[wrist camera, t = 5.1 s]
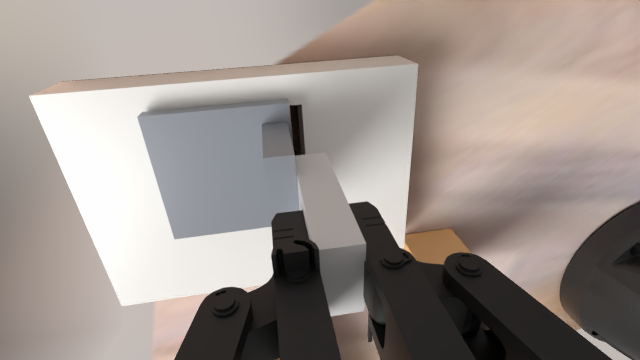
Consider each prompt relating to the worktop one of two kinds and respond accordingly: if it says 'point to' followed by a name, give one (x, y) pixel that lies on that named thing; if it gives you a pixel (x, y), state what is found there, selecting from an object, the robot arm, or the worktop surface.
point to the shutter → (222, 165)
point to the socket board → (217, 89)
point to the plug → (434, 245)
